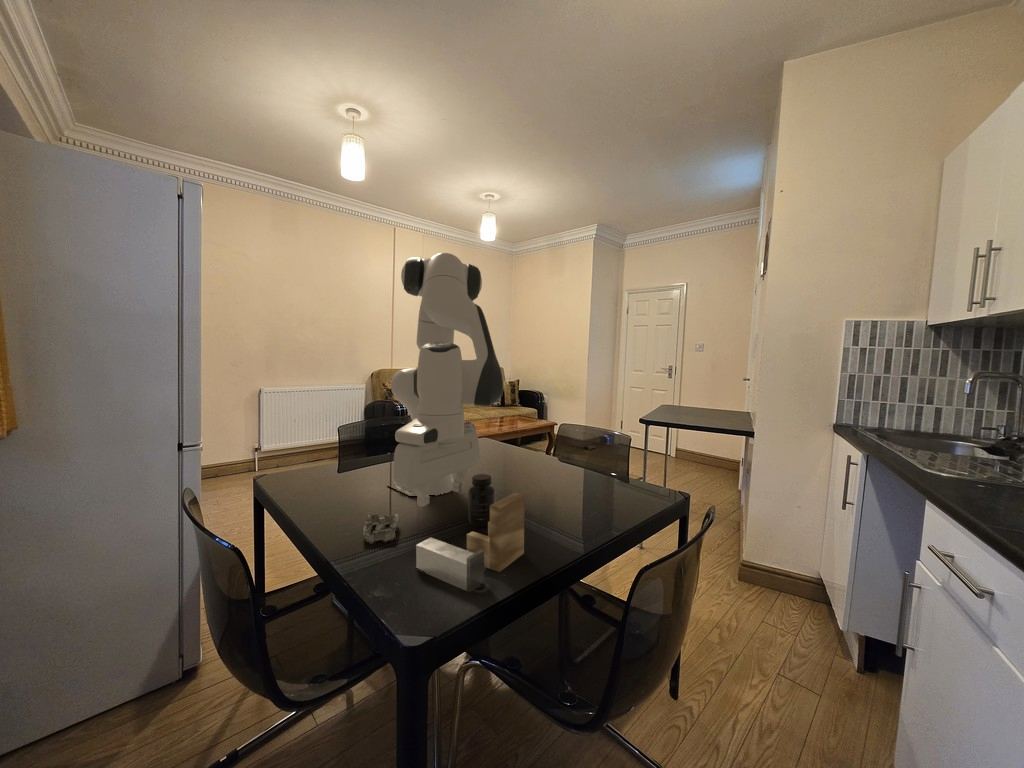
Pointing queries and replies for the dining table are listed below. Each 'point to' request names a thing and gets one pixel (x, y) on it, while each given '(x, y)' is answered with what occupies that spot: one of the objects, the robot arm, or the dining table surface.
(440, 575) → the light grey rectangular block
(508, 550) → the wooden step block
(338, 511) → the dining table surface
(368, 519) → the egg carton
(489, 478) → the supplement bottle
